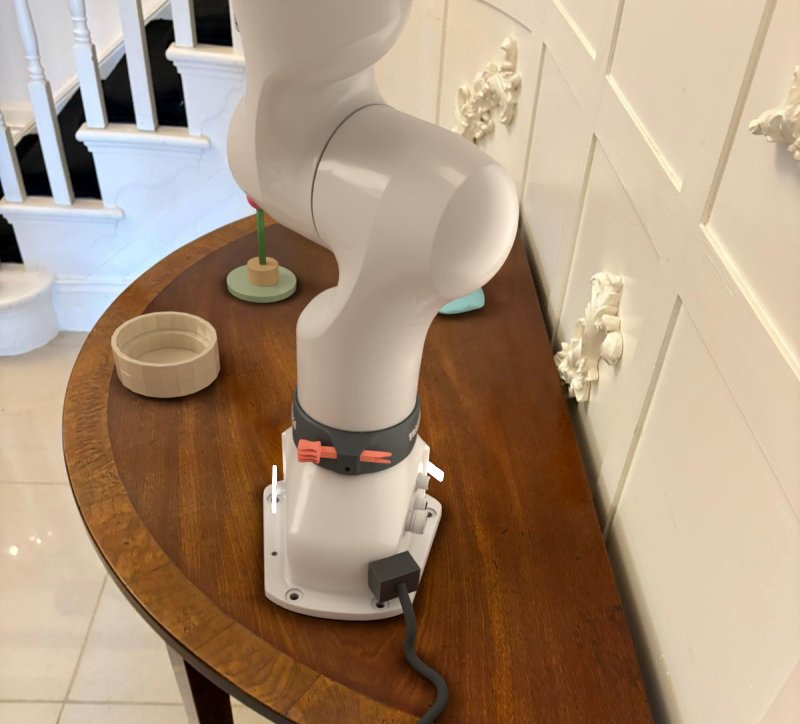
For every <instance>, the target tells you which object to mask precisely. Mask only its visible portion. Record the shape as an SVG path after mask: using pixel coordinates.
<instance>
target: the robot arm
mask: <svg viewBox="0 0 800 724" xmlns="http://www.w3.org/2000/svg"><path fill="white" fill-rule="evenodd" d="M230 3H231V8H232V13H233V15H232V16H233V25H234V28H235V29H236V32H238V33H239V35H240V39H241V45H242V50H243V57H244V65H245V82H246V90H245V93H244V94H243V96H242V97H241V98H240V100H239V101H238V103H237V105H236V107H235V108H234V111H233V113H232V114H231V115H232V116H231V118H230V121H229V125H228V129H227V135H226V157H227V163H228V167H229V170H230V173H231V176H232V178H233V180H234V182H235V183H236V185H237V186H238V187H239V188H240V190H241V191H242V192H243V193H244V194H245V195H246V194H247V195H248V196H249V197H250V198H251V199H252V200H253V201H254V202H255V203H256V204H257V205H258V206H259V207H260V208H261V209H262V210H264V213H266V214H267V215H269V216H268V217H270V218H271V219H273V221H275V222H276V223H278V224H279V225H281V226H283V227H285V228H287V229H289V230H291V231H292V232H295V233H296V234H298V235H300V236H302V237H303V238H305V239H308V240H309V241H312V242H313V243H315V244H317V245H319V246H321V247H323V248H325V249H326V250H328V251H330V252H332V253H333V255H334V257H335V260H336V262H337V265H338V281H337V285H335V286H333V287H330V288H327V289H325V290H323V291H321V292H320V293H318V294H317V295H315V296H314V297H313V298H312V299H311V301H309V303H308V304H307V305H306V306H305V307H304V309H303V310H302V311H301V313H300V315H299V317H298V319H297V322H296V327H295V336H296V337H295V339H296V343H295V344H296V386H295V387H294V390H293V395H292V396H293V398H292V403H291V423H292V425H291V426H290V427H288V428H287V429H285V431H283V432H282V433H281V450H282V451H281V452H282V470H283V471H282V473H283V479H282V480H279V481H277V465H272V483H271V484H268V485H267V486H266V487H265V488H264V490H263V496H262V507H263V508H262V519H263V520H262V521H263V525H262V526H263V527H262V528H263V575H264V576H263V579H264V580H263V582H264V584H263V585H264V587H263V588H264V595H265V597H266V598H267V599H268V600H269V601H271V602H272V603H274V604H276V605H277V606H279V607H281V608H284V609H286V610H288V611H291V612H293V613H297V614H301V615H305V616H310V617H314V618H322V619H331V620H340V621H377V620H382V619H384V620H385V619H388V618H392V617H396V616H400V615H402V614H403V618H404V624H405V636H404V641H403V652H404V656H405V658H406V661H407V663H408V664H409V665H410V667H411V668H412V669H413V670H414V671H415V672H417V673H418V674H419V675H421V676H422V677H424V678H425V679H427V680H428V681H430V682H431V683H432V684H433V685H434V687H435V688H436V690H437V691H436V692H437V695H436V698H435V701H434V703H433V704H432V706H430V708H429V709H428V710H427V711H426V712H425V713H424V714H423V715H422V716H421V717H420V718H419V720H418V721H417V722H416V724H432V723H433V722H434V721H435V720H436V719H437V718H438V717H439V716H440V715H441V713H443V711H444V710H445V708H446V706H447V704H448V702H449V688H448V684H447V682H446V680H445V679H444V677H443V676H442V675H441V674H440V673H439V672H437V671H436V670H435V669H433V668H432V667H430V666H429V665H427V664H426V663H425V662H423V661H422V660H421V659H420V658H419V656H418V655H417V653H416V650H415V642H416V639H417V632H418V631H417V630H418V628H417V619H416V614H415V610H414V607H413V603H414V601H415V598H416V595H417V591H419V587H420V583H421V579H422V576H423V573H424V570H425V567H426V564H427V561H428V558H429V555H430V552H431V550H432V549H431V548H432V546H433V543H434V539H435V537H436V534H437V531H438V527H439V524H440V522H441V518H442V515H443V514H442V512H443V511H442V504H441V502H439V501H438V499H436V498H435V497H433V496H431V495H430V494H427V492H426V491H428V490H429V486H430V482H431V476H433V478H435V479H436V480H438V481H439V482H442V481H443V480H444V474H445V473H444V472H443V470H441V469H440V468H438V467H436V466H435V464H433V463H432V462H430V461H429V460H430V451H431V450H430V448H431V447H430V446H429V445H428V444H427V443H426V441H424V440H423V438H421V436H420V435H419V434H418V432H419V426H420V421H421V413H422V412H421V397H420V394H419V391H418V386H419V378H420V370H421V364H422V358H423V352H424V345H425V341H426V337H427V335H428V331H429V329H430V327H431V324H432V322H433V321H434V319H435V318H436V316H437V314H439V313H438V312H439V311H440V310H441V308H443V307H444V306H445V305H446V304H448V303H450V302H452V301H454V300H456V299H460V298H463V297H465V296H467V295H469V294H471V293H473V292H475V291H476V290H478V289H479V288H482V287H483V286H485V285H487V284H488V283H489V282H490V281H491V280H492V279H493V277H494V276H495V275H496V274H497V273H498V272H499V271H500V269H501V268H502V266H503V265H504V263H506V260H507V258H508V257H509V255H510V252H511V251H512V248H513V245H514V242H515V240H516V236H517V232H518V226H519V217H520V214H519V213H520V205H519V196H518V191H517V187H516V183H515V180H514V177H513V176H512V173H510V171H509V170H508V169H507V168H506V167H505V166H504V165H502V164H501V163H500V162H499V161H497V160H496V159H494V158H493V157H492V156H491V155H490V154H488V153H487V152H485V150H483V149H481V148H480V147H478V146H477V145H476V144H474V143H473V142H472V141H470V140H469V139H467V138H466V137H464V136H463V135H462V134H460V133H458V132H456V131H452V130H450V129H447V128H445V127H443V126H440V125H437V124H435V123H432V122H430V121H427V120H424V119H422V118H419V117H416V116H414V115H411V114H409V113H406V112H404V111H402V110H399V109H396V108H395V107H393V106H391V105H389V104H388V103H387V102H386V100H385V99H384V97H383V96H382V94H381V92H380V90H379V88H378V86H377V80H376V74H375V64H376V63H377V62H379V61H380V60H381V59H382V58H383V57H385V56H386V55H387V54H388V53H389V52H390V51H391V49H393V47H394V45H395V44H396V43H397V42H398V40H399V38H400V36H401V35H402V33H403V31H404V29H405V27H406V25H407V23H408V20H409V18H410V16H411V14H412V9H413V5H414V0H230ZM428 473H429V474H430V475H431V476H430V475H429V476H428Z"/></svg>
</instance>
